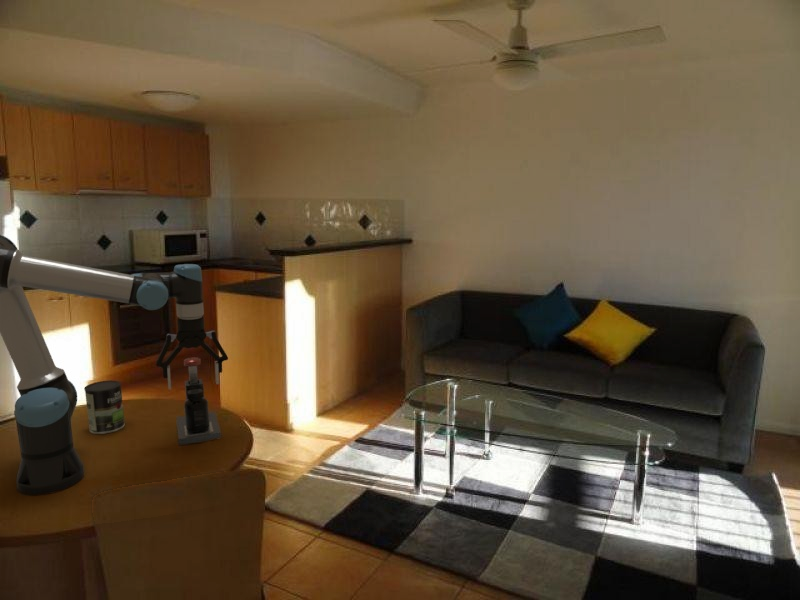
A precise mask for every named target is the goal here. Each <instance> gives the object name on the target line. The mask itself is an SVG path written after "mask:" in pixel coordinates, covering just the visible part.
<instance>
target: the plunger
mask: <svg viewBox="0 0 800 600" xmlns="http://www.w3.org/2000/svg"><path fill="white" fill-rule="evenodd" d="M201 364H202V363H201V358H200V357H198V356H197V357H195V356H194V357H188V358H185V359H184V360H183V366H184V367H188V376H189V377H188V379H189V380H190V384H197V383H198V379H199V378H198V377H199V376H198V366H200V365H201Z"/></svg>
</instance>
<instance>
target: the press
mask: <svg viewBox="0 0 800 600" xmlns="http://www.w3.org/2000/svg"><path fill="white" fill-rule="evenodd" d="M184 389H185V398H186V399H185V401H186V400H188V399H187V392H188V391H190V390H193V389H202V390H203V394H204V393H205V391H204V382H203V379H202V378H198V383H197V384H190V380H184ZM204 395H205V394H204ZM203 398H205V396H204V397H203ZM175 418H176V428H177V429H176V430H177V437H178V438H177V439H178V446H185V445H191V444H196V443H203V441H204V442H208V441H207V440H210V441H212V440H211V439H216V438H221V439H222V432H221V428H220V425H219V422H218V418H217V414H216V411H209V424H210V426H209V428H208V429H207V430H205V431H202V432H189V431H187V429H186V420H185V415H183V416H176V417H175ZM216 440H217V439H216Z"/></svg>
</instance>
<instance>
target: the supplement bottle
mask: <svg viewBox="0 0 800 600" xmlns="http://www.w3.org/2000/svg"><path fill="white" fill-rule="evenodd" d="M203 390H204V389H203ZM203 390H202V389H193V390H190V391H188V392H187V399H188V400H186V399H185V401H184V403H183V407H184V408H183V410H184V416H185V420H186V429H187V431H189V432H202V431H205V430H207V429H208V428H209V426H210V424H209V412H210V411H209V402H208V399H206V398H205V394H203ZM203 397H204V398H203Z"/></svg>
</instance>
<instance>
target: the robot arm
mask: <svg viewBox="0 0 800 600" xmlns="http://www.w3.org/2000/svg"><path fill="white" fill-rule="evenodd" d="M202 273H203V271H202V267H201V266H200V265H199V264H194V263H184V264H176V265H175V266H174V268H173V271H169V272H140V273H131V274H129V273H122V272H116V271H113V270H112V271H111V270H107V269H106V270H105V269H101V268H96V267H95V268H94V267H90V266H85V265H79V264H73V263H69V262H64V261H63V262H62V261H59V260H58V261H57V260H53V259H47V258H42V257H41V258H40V257H36V256H31V255H26V254H25V255H24V254H23V253H22V252H21V251H20V249H18V247H17V246H16V244H15V243H14V242H13V241H12V240H11V239H10V238H8V236H5V235H3V234H0V336H1V337H2V340H3V342H4V344H5V346H6V349H7V351H8V354H9V356H10V358H11V360H12V363H13V365H14V367H15V370H16V371H17V372H16V373H17V375H18V377H19V379H20V380H19V382H18V384H17V386H16V389H17V390H18V393H19V396H20V397H18V398H17V399H16V401H15V403H14V412H13V415H14V419H15V422H16V431H17V436H18V437H17V439H18V443H19V444H18V445H19V450H20V457H21V459H20V463H19V468H18V471H17V475H16V479H15V484H16V490H17V491H18V493H20V494H23V495H27V496H39V495H48V494H52V493H56V492H57V493H58V492H60V491H62V490H65V489H67V488H70V487H72V486H73V485H76V484H77V483H78V482H80V481H81V480H82V479H83V478H84V475H85V466H84V463H83V461H82V459H81V458H80V456H79V454H78V452H77V451H76V448H75V446H74V437H73V431H72V418H73V413H74V412H75V408H76V406H77V404H78V392H77V390H76V386H75V385H74V384H73V383H72V382H71V381H70V380H69V379H68V377H67V374H66V372H65V370H64V369H63V368H60V367H57V366H56V365H55V362H54V359H53V358H52V354H51V353H50V350H49V348H48V346H47V343H46V341H45V339H44V336H43V333H42V331H41V329H40V327H39V323H38V321H37V319H36V317H35V314H34V313H33V310H32V307H31V305H30V302H29V300H28V298H27V295H26V293H25V290H24V288H31V289H38V290H42V291H49V292H56V293H62V294H68V295H74V296H80V297H87V298H93V299H97V300H105V301H111V302H117V303H118V302H119V303H124V304H129V305H132V306H133V305H134V306H140V307H142V308H143V309H146V310H148V311H157V310H159V309H161V308H162V307H164V306H165V305H166V303H167V302H168V299H173V298H174V299H175V306H176V307H175V308H176V317H177V319H176V324H177V325H176V326H177V328H176V329H177V333H176V334H173V333H167V334H166V339H165V342H164V344H163V347H162V349H161V350H160V353H159V354H158V357H157V359H156V361H155V366H156V367H158V368H159V367H160V368H162V373H163V374H162V375H163V379H167V387H168V390H172V381H171V366H170V364H171V363H172V362H173V360H174V359H175V358H176V357H177V356H178V354H179V353H180V352H181V351H182V350H183V349H184V348H185V349H191V348H195V349H196V348H197V349H198V348H199V347H201V348H203V349H204V350H205V351H206V352H207V353H208V354H209V356H211V357H212V358H213V359H214V360H215V361H214V373H215V374H214V376H215V377H214V379H215V384H216V385H220V375H219V374H221V373H223V363H224V361H228V360H229V357H228V355H227V352H226V351H225V350H224V348H223V347H222V345H221V343H220V341H219V340H218V338H217V335H216V334H217V333H216V330H214V329H212V330H210V331H205V317H204V316H203V315H205V309H204V292H203V291H204V289H203V275H202ZM207 337H208V338H209V339H211V340H212V342H213V343H214V345H215V347H216V348H217V350H218V352H219V353H220V355H221V356H219V354H218V353H216V352H215V350H213V349H212V347H210V346H209V344H207V343H206V341H204V340H205V339H206V338H207ZM175 339H176V340H177V341H178V342H179V343H177V345H176V346H175V348H174V349H173V350H172V352H171V353H170V354H169V355H168V356H167V358H166V359H165V360H164V358H165V357H166V354H167V353H168V350H169V348H170V346H171V344H172V343H173V342H174V341H175ZM163 360H164V361H163Z"/></svg>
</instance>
